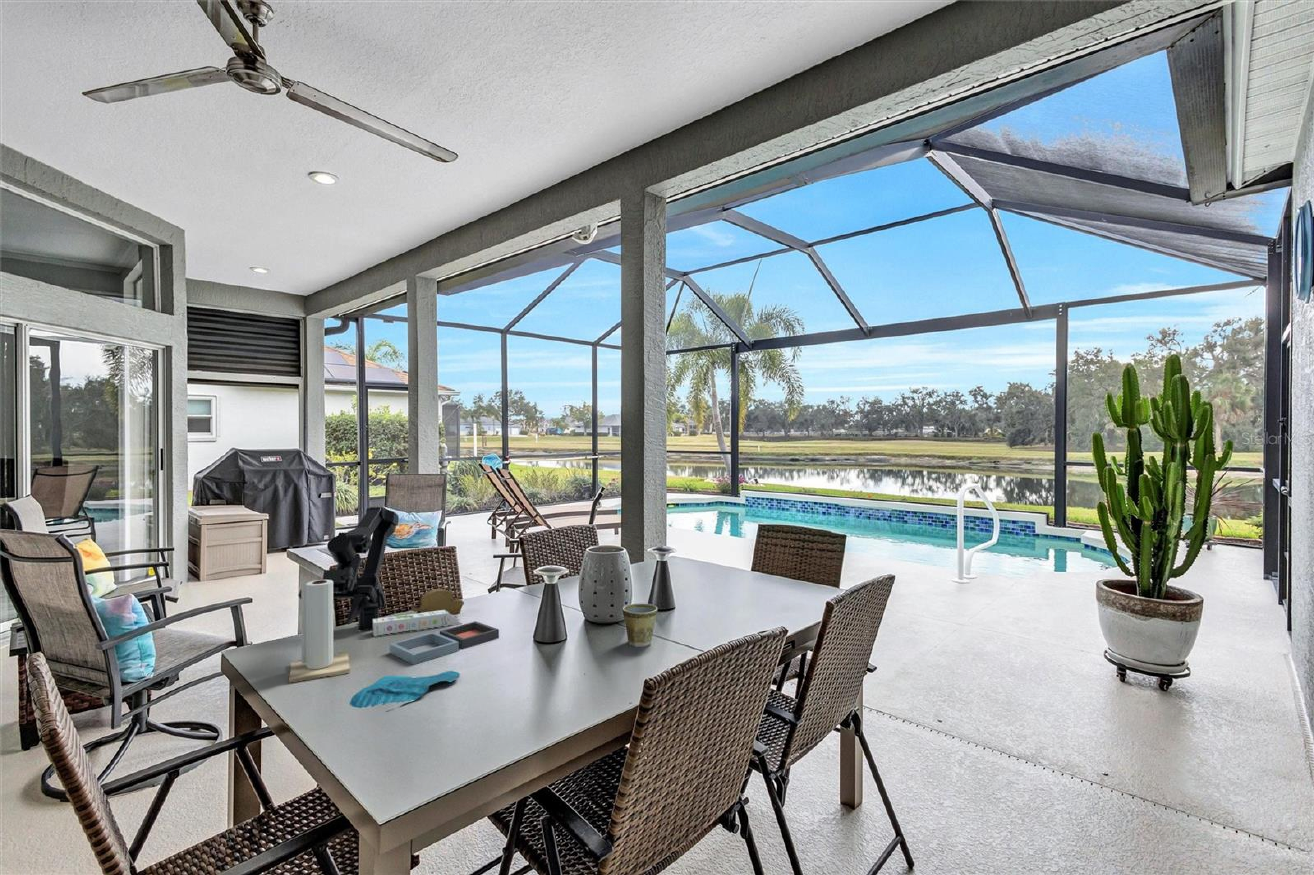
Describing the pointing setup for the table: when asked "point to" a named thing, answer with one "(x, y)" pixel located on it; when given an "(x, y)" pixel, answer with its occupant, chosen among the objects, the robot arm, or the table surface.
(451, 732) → the table surface
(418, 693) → the blue flat elongated piece
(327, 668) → the wooden pad
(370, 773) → the table surface
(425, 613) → the box
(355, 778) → the table surface
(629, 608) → the ceramic cup
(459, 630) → the tray
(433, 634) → the blue square frame
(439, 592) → the wooden carving
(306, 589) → the paper towel roll
